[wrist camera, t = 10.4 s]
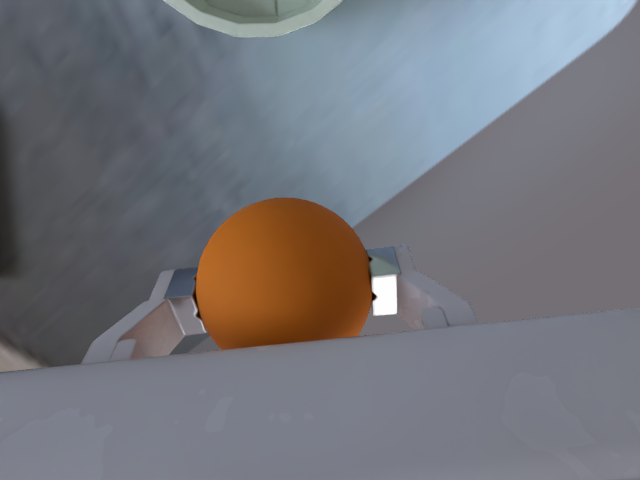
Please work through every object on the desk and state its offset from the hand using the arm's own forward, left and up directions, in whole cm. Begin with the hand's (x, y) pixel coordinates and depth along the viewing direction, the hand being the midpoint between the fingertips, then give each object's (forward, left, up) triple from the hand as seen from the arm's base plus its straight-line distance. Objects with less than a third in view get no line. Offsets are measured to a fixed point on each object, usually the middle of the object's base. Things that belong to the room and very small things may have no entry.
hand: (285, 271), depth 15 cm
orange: (0, 0, +1) cm, 1 cm away
